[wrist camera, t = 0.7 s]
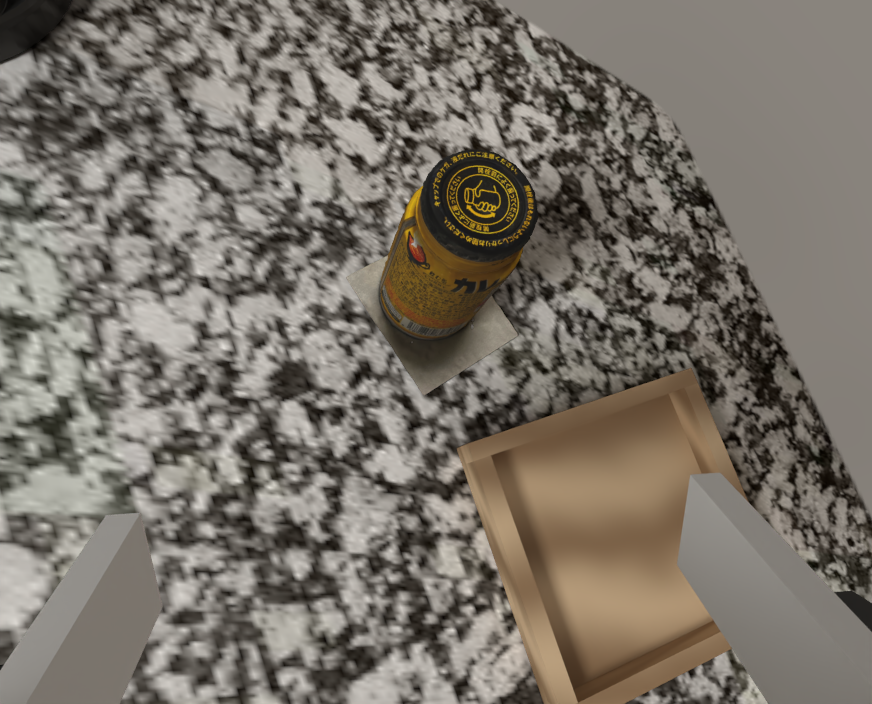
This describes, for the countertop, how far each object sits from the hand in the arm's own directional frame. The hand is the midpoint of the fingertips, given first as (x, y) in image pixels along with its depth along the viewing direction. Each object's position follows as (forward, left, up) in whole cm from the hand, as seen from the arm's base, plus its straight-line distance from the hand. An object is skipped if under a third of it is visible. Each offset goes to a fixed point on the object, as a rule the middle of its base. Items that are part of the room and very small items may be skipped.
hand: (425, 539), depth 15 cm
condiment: (-11, +8, -20) cm, 24 cm away
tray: (+5, +14, -19) cm, 25 cm away
